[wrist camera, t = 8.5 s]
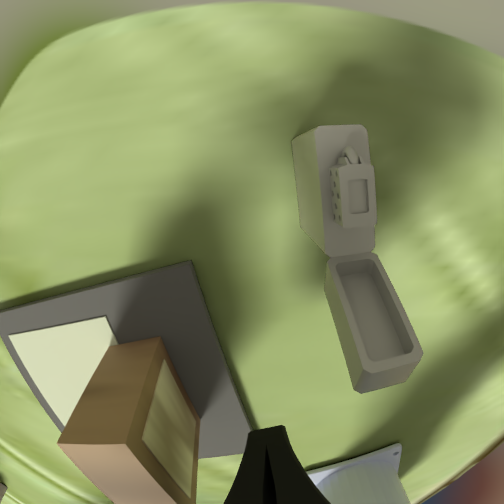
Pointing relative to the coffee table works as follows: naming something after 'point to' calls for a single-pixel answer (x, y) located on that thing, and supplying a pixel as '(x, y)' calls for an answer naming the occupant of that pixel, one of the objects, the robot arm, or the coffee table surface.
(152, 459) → the slab
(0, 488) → the toy sheep
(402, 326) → the lighter
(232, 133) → the coffee table surface
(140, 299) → the mat
